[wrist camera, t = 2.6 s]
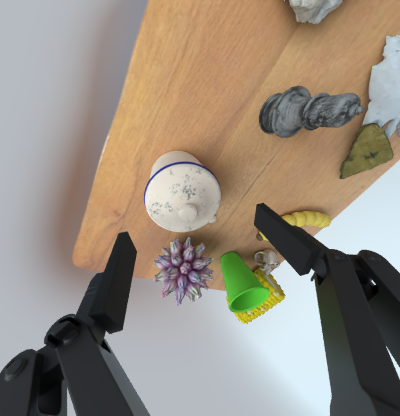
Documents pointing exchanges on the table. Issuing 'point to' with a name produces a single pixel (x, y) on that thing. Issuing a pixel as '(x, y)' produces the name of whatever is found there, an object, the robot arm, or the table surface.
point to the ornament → (266, 261)
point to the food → (273, 299)
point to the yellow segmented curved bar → (304, 220)
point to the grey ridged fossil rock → (313, 9)
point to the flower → (183, 270)
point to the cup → (241, 284)
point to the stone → (367, 151)
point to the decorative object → (386, 89)
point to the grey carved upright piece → (306, 111)
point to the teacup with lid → (181, 193)
